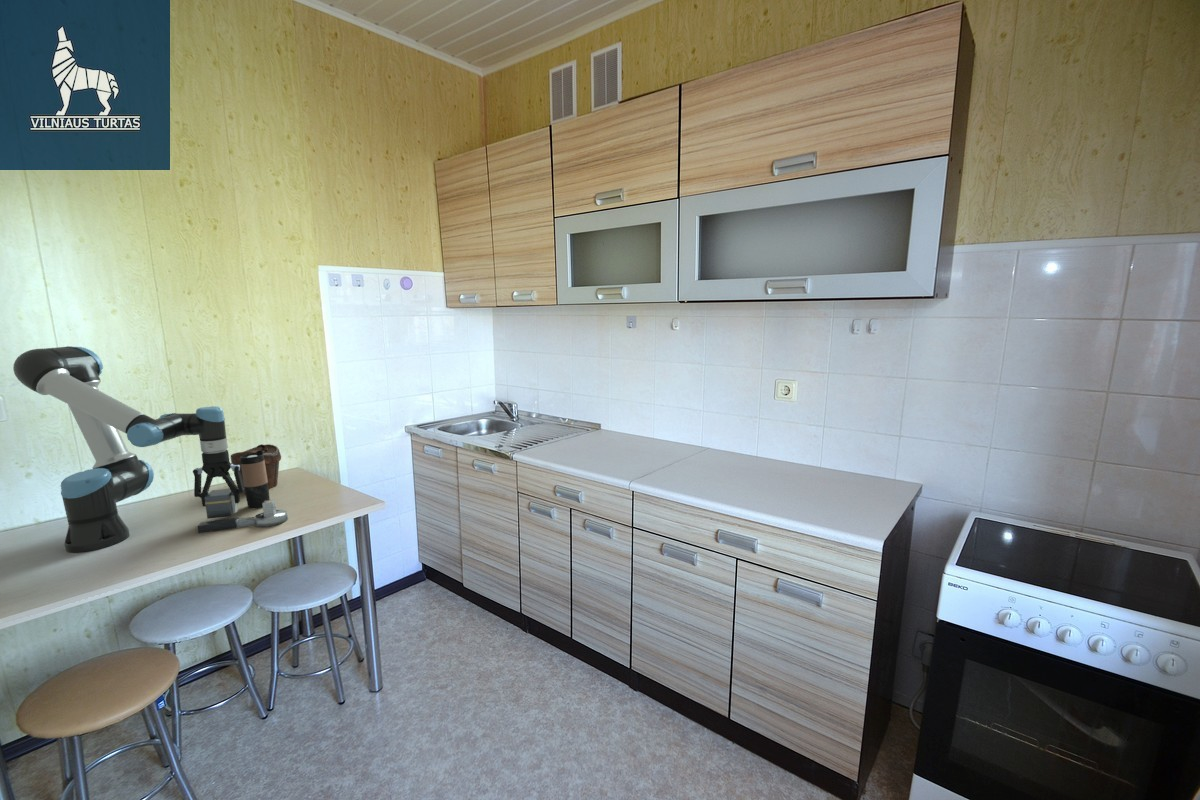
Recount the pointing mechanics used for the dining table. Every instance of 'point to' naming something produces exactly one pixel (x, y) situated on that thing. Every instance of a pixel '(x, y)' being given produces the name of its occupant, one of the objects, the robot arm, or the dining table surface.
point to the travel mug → (255, 479)
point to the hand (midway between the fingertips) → (222, 513)
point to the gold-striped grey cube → (219, 503)
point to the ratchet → (248, 520)
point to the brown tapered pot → (270, 458)
